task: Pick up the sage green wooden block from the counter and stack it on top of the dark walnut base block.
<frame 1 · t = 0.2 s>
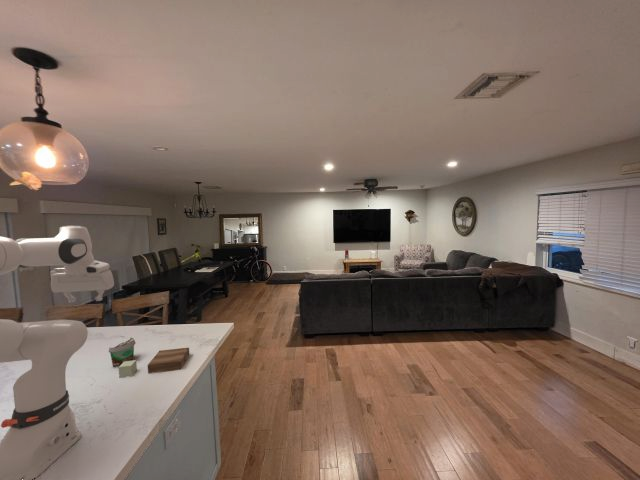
hand: (86, 301, 105), 39 cm above the table, tool pointing down, fingers open, 8 cm apart
walnut base: (170, 363, 130), on the table
sage block: (128, 374, 122), on the table
food container: (126, 362, 133), on the table
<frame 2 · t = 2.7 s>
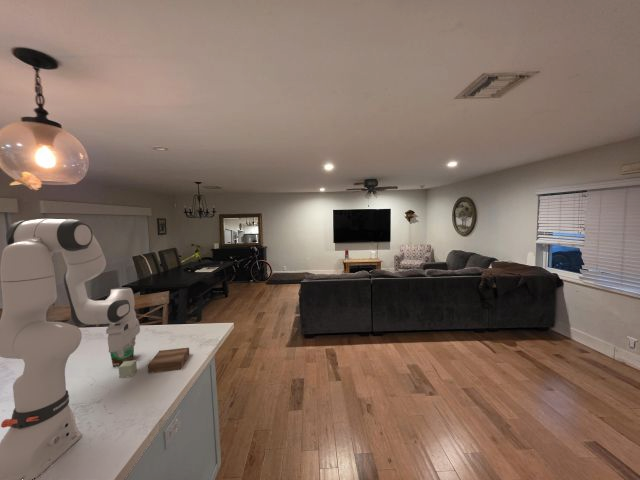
hand: (127, 351, 122), 10 cm above the table, tool pointing down, fingers open, 8 cm apart
nothing on the table moved.
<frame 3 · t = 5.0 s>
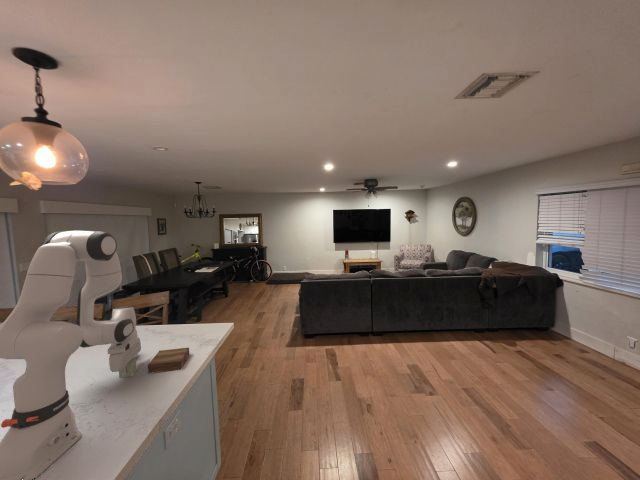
hand: (128, 370, 122), 2 cm above the table, tool pointing down, fingers closed on sage block, 5 cm apart
sage block: (128, 373, 122), on the table, touching gripper
everything else where it was.
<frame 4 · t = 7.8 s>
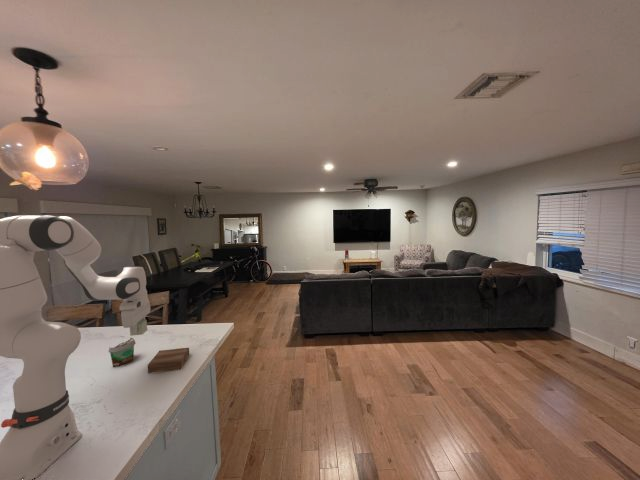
hand: (138, 329, 124), 20 cm above the table, tool pointing down, fingers closed on sage block, 5 cm apart
sage block: (139, 332, 124), point 18 cm above the table, touching gripper
everything else where it was.
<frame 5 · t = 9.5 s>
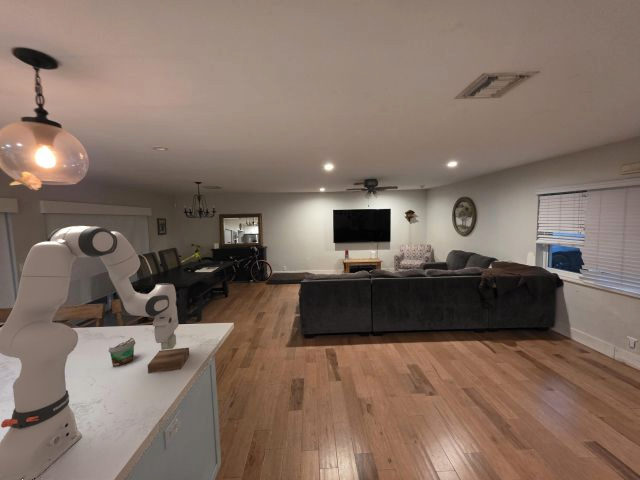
hand: (168, 343, 130), 10 cm above the table, tool pointing down, fingers closed on sage block, 5 cm apart
sage block: (169, 346, 130), point 8 cm above the table, touching gripper
everything else where it was.
when the fingers open (7 cm above the table, at t = 10.9 s): sage block drops 1 cm, resting on walnut base.
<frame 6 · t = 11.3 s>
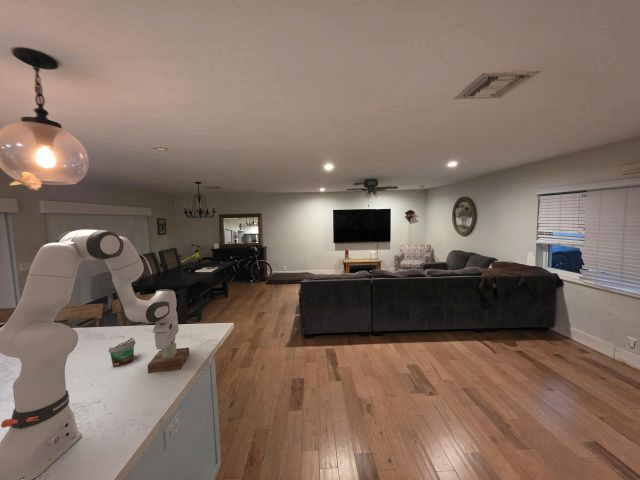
hand: (169, 349, 130), 7 cm above the table, tool pointing down, fingers open, 8 cm apart
sage block: (169, 355, 130), point 4 cm above the table, touching walnut base
everything else where it was.
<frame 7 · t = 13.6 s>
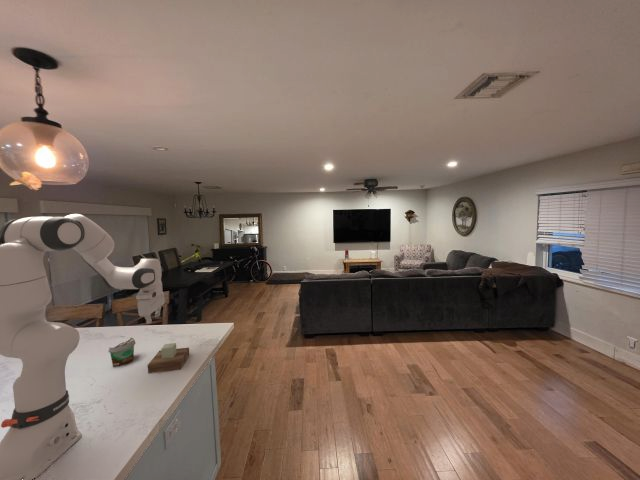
hand: (153, 319, 128), 23 cm above the table, tool pointing down, fingers open, 8 cm apart
nothing on the table moved.
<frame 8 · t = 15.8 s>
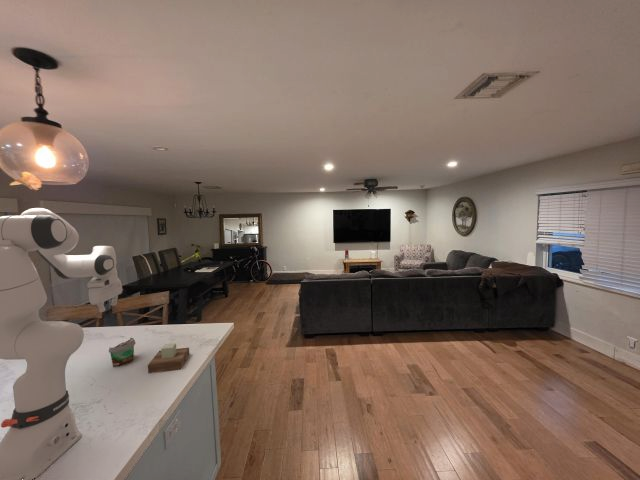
hand: (108, 308, 126), 29 cm above the table, tool pointing down, fingers open, 8 cm apart
nothing on the table moved.
at the end: sage block inside the target area on the walnut base (0.1 cm from its centre), point 4.0 cm above the walnut base's base; sage block tilted 0°; the gripper is holding nothing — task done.
